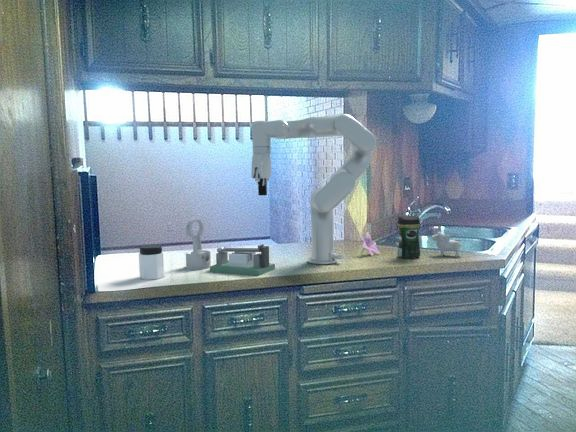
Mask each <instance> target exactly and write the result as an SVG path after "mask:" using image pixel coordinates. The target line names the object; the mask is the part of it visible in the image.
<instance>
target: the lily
mask: <svg viewBox="0 0 576 432" xmlns="http://www.w3.org/2000/svg"><path fill="white" fill-rule="evenodd" d="M365 235H366V236H363V235H359V237H360V238H361V239H362V241H363V243H362V248H363V249H362V251H361V253H360V254H362V253H363V252H364V250H365V249H367V250H368V251H369V254H370V256H371V257H373V256H374V252H375V253H377V254H378V255H381V251H380V250H379V249H378V247H377V242H375V240H374V241H373V240H372V237H371V235H370V233H369V232H368V231H367V232H366V234H365Z"/></svg>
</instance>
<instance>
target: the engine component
mask: <svg viewBox="0 0 576 432" xmlns="http://www.w3.org/2000/svg"><path fill="white" fill-rule="evenodd" d="M195 222H196V223H197V224H198V226H199V229H198V232H197V233H196V234H194V233H193V231H192V226H193V224H194V223H195ZM204 232H206V227H205V223H204V222H203V221H202V219H200V218H196V217H195V218H191V219H190V220H188V222H187V224H186V227H185V233H186V236H189V237H190V238H191V240H192V248H193V251H190V253H187V252H185V267H186V270H191V271H201V270H202V271H203V270H207V269H210V266H212V264H211V263H212V261H211V256H212V255H211V251H210V250H207V249H203V248H202V238H201V237H202V235H203V233H204Z"/></svg>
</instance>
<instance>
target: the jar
mask: <svg viewBox="0 0 576 432" xmlns="http://www.w3.org/2000/svg"><path fill="white" fill-rule="evenodd" d="M164 262H165V261H164V252H163V248H162V245H161V244H145V245H144V244H143V245H141V246H139V253H138V265H139V266H138V268H139V279H142V280H143V281H144V280H145V281H151V280H152V281H153V280H159V279H162V278H164V277H165V269H164V268H165V267H164V266H165V265H164Z"/></svg>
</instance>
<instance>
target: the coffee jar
mask: <svg viewBox="0 0 576 432" xmlns="http://www.w3.org/2000/svg"><path fill="white" fill-rule="evenodd" d="M396 225H397V228H398V244H397V245H398V246H397V256H398V258H400V259H417V258H420V257H421V247H420V246H421V245H420V239H419V234H420V233H419V229H420V227H421V221H420V217H419V216H417V215H400V216H398V218H397V224H396Z"/></svg>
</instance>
